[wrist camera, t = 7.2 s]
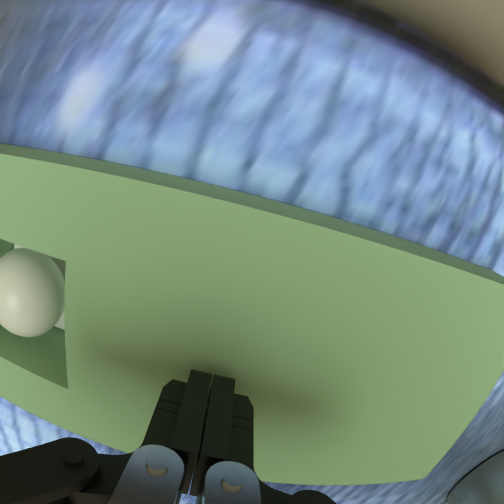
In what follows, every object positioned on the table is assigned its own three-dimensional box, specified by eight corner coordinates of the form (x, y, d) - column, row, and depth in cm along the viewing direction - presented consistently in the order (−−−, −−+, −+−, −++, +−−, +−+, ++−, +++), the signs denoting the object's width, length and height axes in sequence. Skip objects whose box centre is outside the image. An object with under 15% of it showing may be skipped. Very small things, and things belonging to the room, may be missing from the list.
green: (492, 270, 14) (538, 297, 10) (403, 436, 17) (423, 478, 13) (-13, 141, 12) (-65, 144, 8) (-12, 334, 15) (-48, 364, 11)
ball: (-23, 267, 8) (-10, 234, 11) (-10, 355, 9) (-5, 308, 12) (72, 269, 11) (64, 237, 14) (72, 353, 12) (62, 308, 15)
